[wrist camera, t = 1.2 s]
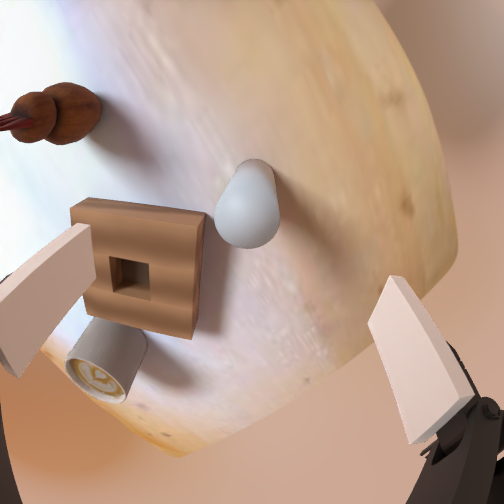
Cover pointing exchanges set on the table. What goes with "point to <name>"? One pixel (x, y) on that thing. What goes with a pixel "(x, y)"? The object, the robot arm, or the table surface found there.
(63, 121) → the wooden figurine
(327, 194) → the table surface
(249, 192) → the peg
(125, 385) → the coffee mug
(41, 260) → the robot arm
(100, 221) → the bore block
